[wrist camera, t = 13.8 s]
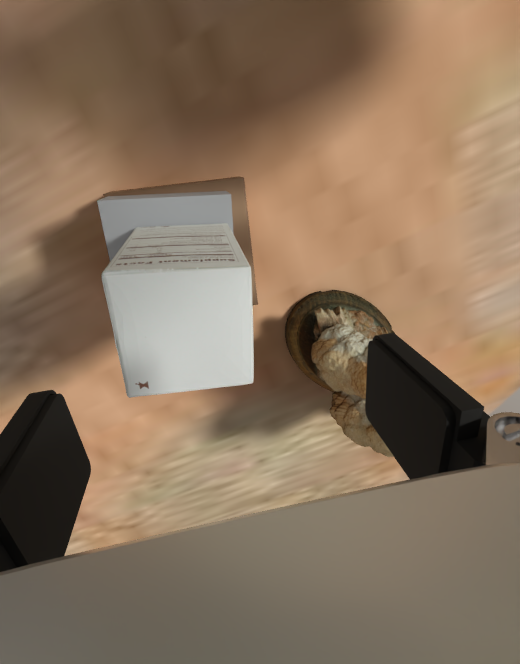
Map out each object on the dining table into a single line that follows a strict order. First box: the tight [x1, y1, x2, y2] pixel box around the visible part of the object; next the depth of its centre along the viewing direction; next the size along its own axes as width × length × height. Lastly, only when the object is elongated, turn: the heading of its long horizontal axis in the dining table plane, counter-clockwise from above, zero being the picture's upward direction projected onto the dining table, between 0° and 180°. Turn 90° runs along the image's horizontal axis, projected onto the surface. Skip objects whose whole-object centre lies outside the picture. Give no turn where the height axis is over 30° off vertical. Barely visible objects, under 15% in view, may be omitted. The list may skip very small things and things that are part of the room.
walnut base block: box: [103, 177, 258, 305], centre depth 35 cm, size 12×12×4 cm
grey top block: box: [97, 191, 234, 262], centre depth 31 cm, size 10×10×4 cm
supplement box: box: [102, 223, 254, 398], centre depth 24 cm, size 7×7×13 cm
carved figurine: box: [285, 290, 395, 457], centre depth 37 cm, size 18×12×17 cm, turn 50°
